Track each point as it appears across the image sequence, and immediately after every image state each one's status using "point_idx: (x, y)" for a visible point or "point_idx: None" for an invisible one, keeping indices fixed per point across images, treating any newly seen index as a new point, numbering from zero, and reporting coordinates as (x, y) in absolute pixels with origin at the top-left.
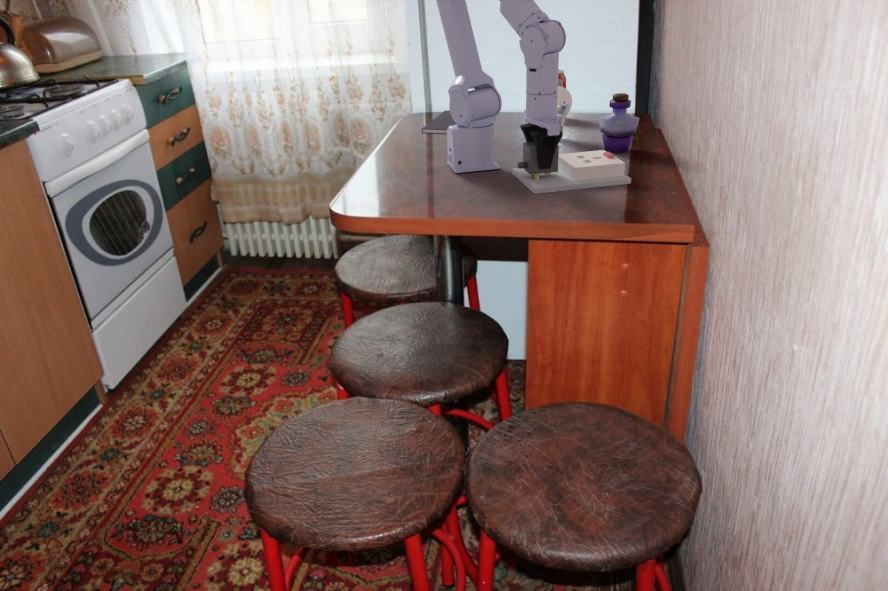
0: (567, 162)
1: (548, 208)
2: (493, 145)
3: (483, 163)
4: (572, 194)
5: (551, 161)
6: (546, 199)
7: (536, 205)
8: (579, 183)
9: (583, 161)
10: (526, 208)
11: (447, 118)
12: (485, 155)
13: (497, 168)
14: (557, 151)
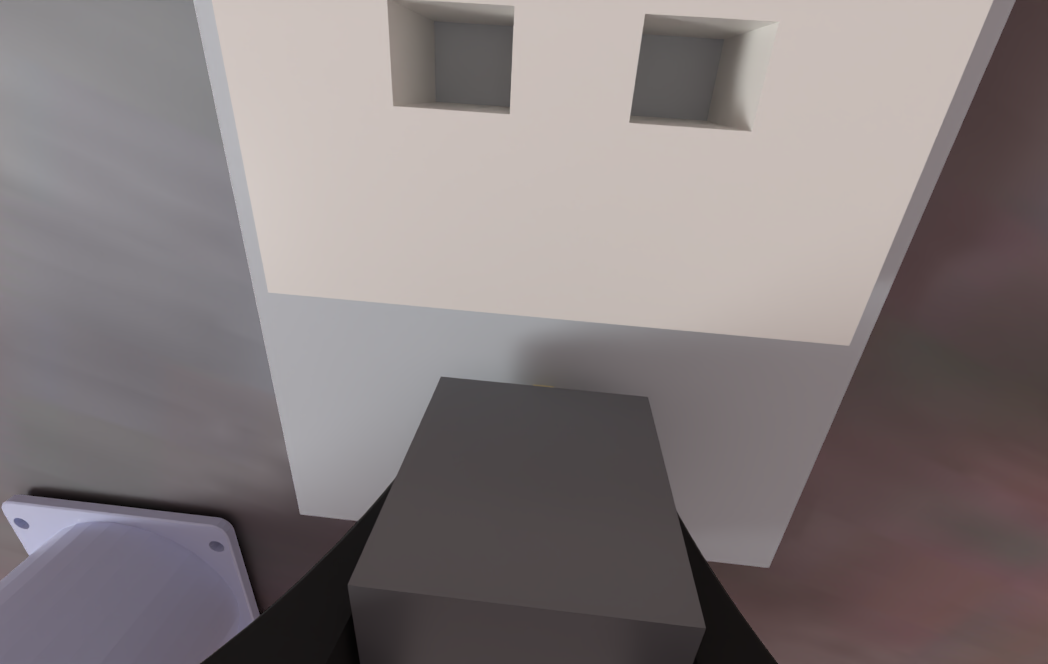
0: (617, 323)
1: (1035, 572)
2: (54, 658)
3: (218, 619)
4: (931, 366)
5: (694, 546)
6: (892, 525)
7: (940, 595)
8: (881, 282)
9: (676, 130)
10: (941, 639)
11: None
12: (178, 658)
13: (234, 535)
14: (681, 562)
